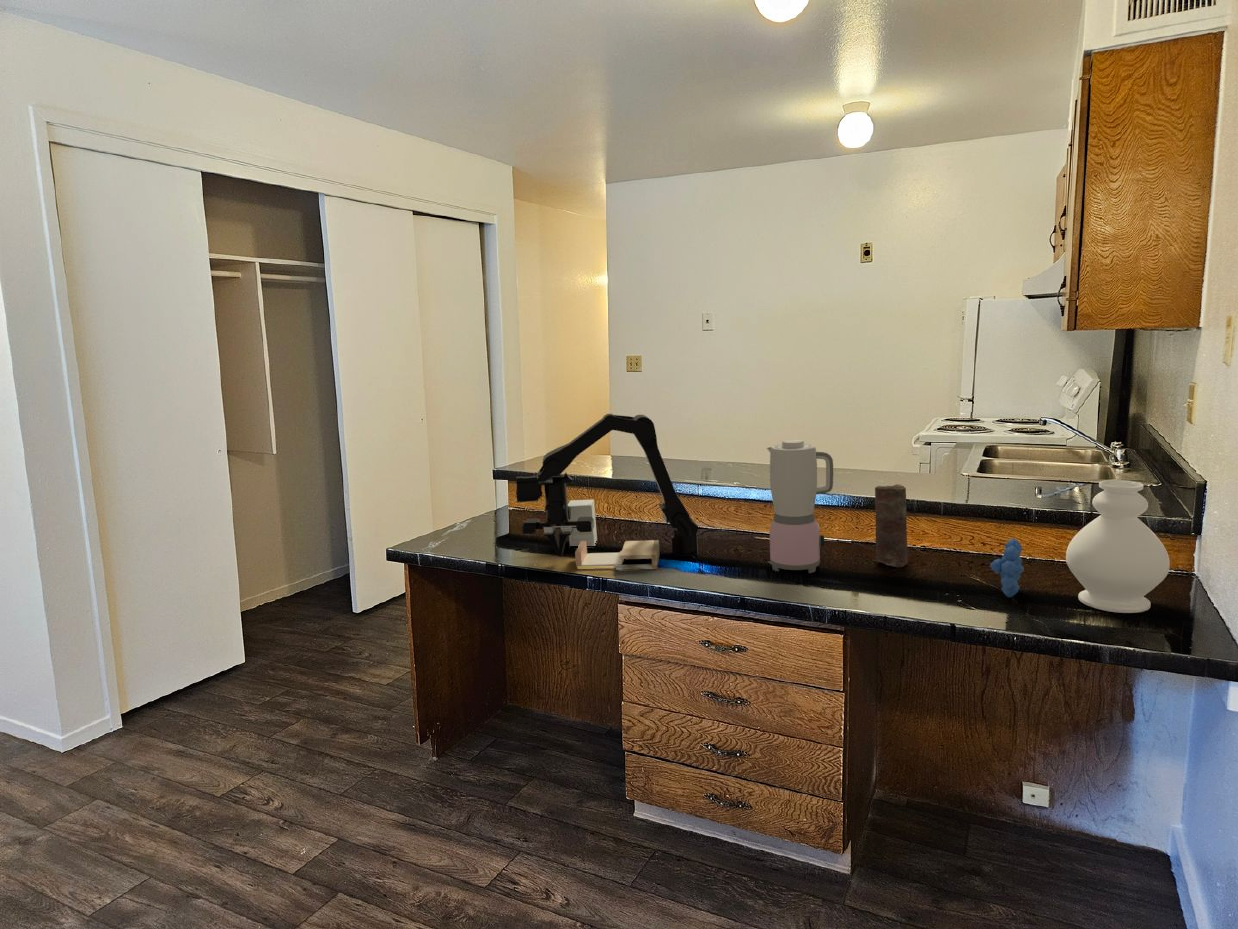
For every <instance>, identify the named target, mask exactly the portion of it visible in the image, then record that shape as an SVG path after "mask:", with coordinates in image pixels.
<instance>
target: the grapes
mask: <svg viewBox="0 0 1238 929" xmlns="http://www.w3.org/2000/svg"><path fill="white" fill-rule="evenodd" d="M1004 547H1005V550H1004V551H1003V552H1002V554H1003V555H1002V556H1001V558H997V559H994V560H993V561H992V562H991V563H990V564H989V567H990V569H991V570H992V571H993V572H994V573H995V574H997V575H999V574H1000V576H999V577H1000V584H1001V585H1002V587H1001V588H1000V589H1001V591H1002V592H1003V594H1004V595H1005V596H1006V597H1007V598H1012V597H1014V596H1015V595H1017V593H1019V590H1020V588H1021V587H1020V586H1019V582H1018V580H1019V579H1020V578H1022V572H1024V571H1025V568H1024V566H1023V565H1022V563H1023V559H1022V558H1021V553H1022V552H1023V547H1022V545H1021V543H1020V542H1019V541H1018V540H1017V539H1016V538H1011V539H1009V540H1008V541H1007V542H1006V543H1005V544H1004Z"/></svg>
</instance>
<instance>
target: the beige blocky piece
mask: <svg viewBox="0 0 1238 929" xmlns="http://www.w3.org/2000/svg"><path fill="white" fill-rule="evenodd" d="M574 555H575V567H576V566H615V565H622V564H623V562H624V563H625V560H624V559H621V557H620V555H621V553H620V552H591V553H588V547H587V544H586V541H581V542H580V544H579V546H578V548H576V549H575V552H574ZM623 565H624V564H623Z"/></svg>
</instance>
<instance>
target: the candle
mask: <svg viewBox="0 0 1238 929" xmlns="http://www.w3.org/2000/svg"><path fill="white" fill-rule="evenodd" d="M874 496H875V497H874V507H875V509H874V510H875V514H874V515H875V559H876V561H878V563H881V564H884V565H886V566H890V567H894V568H899V567H900V568H903V567H905V566H906V565H908V535H907V534H908V532H907V529H908V528H907V527H908V525H907V523H908V522H907V488H906V487H905V485H902V484H898V483H897V484H896V483H895V484H893V485H877V486H875V487H874Z"/></svg>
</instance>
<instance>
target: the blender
mask: <svg viewBox="0 0 1238 929" xmlns="http://www.w3.org/2000/svg"><path fill="white" fill-rule="evenodd" d="M781 442H782V443H780V444H775V445H772V446H771V447H770V446H769V447H767V448H766V449H767V451H768V452H769V454H770V455H769V483H770V485H769V486H770V494H771V498H772V505H773V511H774V515H773V519H772V521H771V523H770V526H769V551H770V552H769V555H770V556H769V563H770V565H771V566H772V570H773V571H774V570H775V571H774V572H776V571H777V573H778V572H780V569H781V570H789V571H803V570H807V573H808V574H813V573H814V572H816V570H817V567H818V566H819V565H820V563H821V558H820V557H821V556H820V554H821V552H820V550H821V547H824V546H825V535H824V534H821V533H820V531H821V528H820V524H818V521H817V519H816V517H815V504H816V498H817V495H821V494H827V493H829V492H831V491H832V490H833V487H834V460H833V459H834V458H832V456H831V454H829V453H828V452H824V451H817V448H816V446H815V445H814V444H812V443H805V442H804V440H803V439H785V440H782V441H781ZM818 460H824V461H825V485H823V486H818V462H817V461H818Z"/></svg>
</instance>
